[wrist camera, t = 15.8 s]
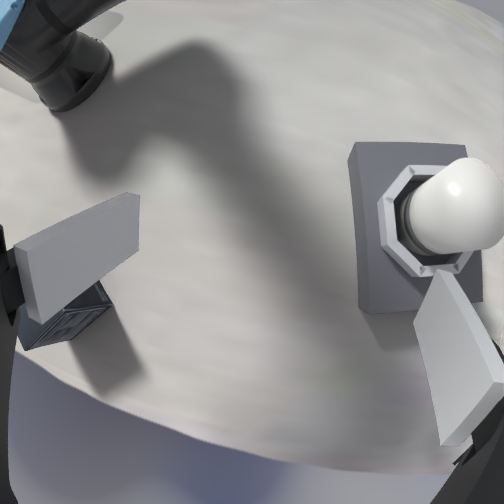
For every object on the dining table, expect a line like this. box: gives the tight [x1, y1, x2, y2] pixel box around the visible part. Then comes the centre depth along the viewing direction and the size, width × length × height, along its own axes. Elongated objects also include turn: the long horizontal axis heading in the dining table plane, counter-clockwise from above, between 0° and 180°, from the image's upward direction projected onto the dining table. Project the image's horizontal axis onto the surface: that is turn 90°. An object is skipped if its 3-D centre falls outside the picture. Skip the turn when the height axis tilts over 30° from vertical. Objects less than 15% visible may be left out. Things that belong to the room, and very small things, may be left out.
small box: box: [17, 280, 112, 351], centre depth 36 cm, size 11×6×10 cm, turn 126°
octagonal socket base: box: [348, 142, 483, 315], centre depth 32 cm, size 18×14×8 cm
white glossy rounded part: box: [396, 158, 504, 256], centre depth 25 cm, size 7×7×11 cm
